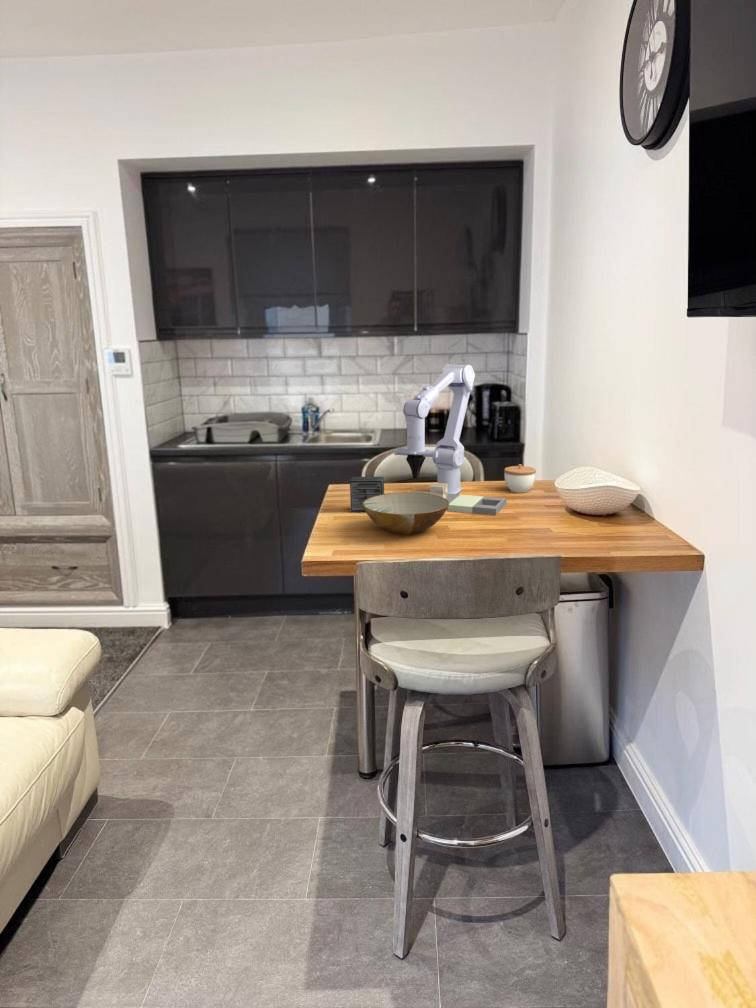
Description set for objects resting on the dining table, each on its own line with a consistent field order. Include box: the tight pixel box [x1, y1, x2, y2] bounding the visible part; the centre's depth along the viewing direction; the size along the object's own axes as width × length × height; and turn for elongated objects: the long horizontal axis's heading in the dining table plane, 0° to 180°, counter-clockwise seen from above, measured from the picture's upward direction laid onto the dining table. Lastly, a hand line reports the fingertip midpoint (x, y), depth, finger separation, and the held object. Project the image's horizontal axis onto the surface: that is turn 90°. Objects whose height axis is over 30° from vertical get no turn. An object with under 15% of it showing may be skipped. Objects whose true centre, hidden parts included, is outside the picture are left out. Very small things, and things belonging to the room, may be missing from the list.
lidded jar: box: [504, 463, 537, 494], centre depth 252 cm, size 11×11×9 cm
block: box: [429, 482, 447, 499], centre depth 236 cm, size 4×4×4 cm
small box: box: [349, 476, 385, 513], centre depth 230 cm, size 11×6×10 cm, turn 84°
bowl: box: [362, 491, 449, 536], centre depth 209 cm, size 25×25×8 cm
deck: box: [411, 490, 507, 516], centre depth 235 cm, size 14×32×2 cm, turn 67°
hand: (416, 477), depth 238 cm, fingers closed
